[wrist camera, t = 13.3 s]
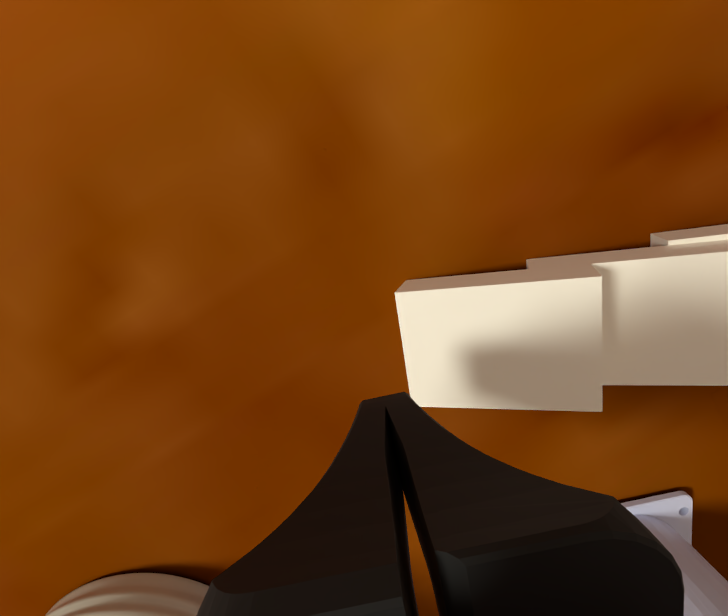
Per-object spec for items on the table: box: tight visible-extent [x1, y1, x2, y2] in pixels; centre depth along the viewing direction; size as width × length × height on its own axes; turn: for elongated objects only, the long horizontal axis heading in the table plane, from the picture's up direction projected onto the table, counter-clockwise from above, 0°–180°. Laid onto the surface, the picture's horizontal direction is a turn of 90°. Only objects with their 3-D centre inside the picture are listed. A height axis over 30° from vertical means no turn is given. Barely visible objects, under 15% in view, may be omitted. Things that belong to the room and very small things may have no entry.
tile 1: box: [395, 264, 602, 412], centre depth 15 cm, size 5×2×7 cm
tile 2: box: [526, 239, 728, 386], centre depth 16 cm, size 5×2×7 cm
